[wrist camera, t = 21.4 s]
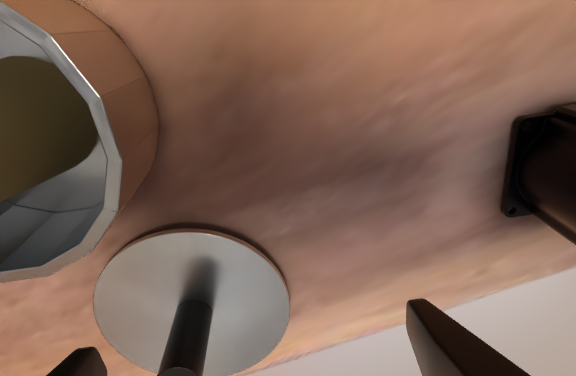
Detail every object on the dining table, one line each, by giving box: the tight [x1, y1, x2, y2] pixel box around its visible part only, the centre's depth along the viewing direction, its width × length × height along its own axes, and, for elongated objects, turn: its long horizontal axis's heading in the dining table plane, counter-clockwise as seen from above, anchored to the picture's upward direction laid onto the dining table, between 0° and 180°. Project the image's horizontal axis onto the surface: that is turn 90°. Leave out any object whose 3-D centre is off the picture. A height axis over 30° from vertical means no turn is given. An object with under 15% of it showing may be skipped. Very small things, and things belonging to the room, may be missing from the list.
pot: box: [0, 0, 159, 283], centre depth 16 cm, size 12×12×6 cm
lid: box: [93, 228, 290, 376], centre depth 22 cm, size 13×13×6 cm
